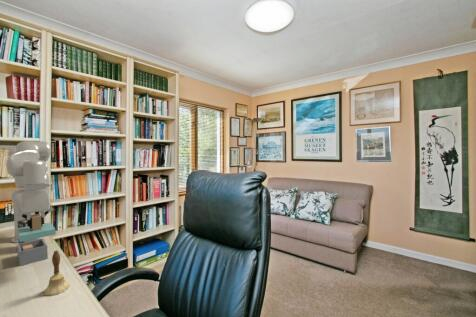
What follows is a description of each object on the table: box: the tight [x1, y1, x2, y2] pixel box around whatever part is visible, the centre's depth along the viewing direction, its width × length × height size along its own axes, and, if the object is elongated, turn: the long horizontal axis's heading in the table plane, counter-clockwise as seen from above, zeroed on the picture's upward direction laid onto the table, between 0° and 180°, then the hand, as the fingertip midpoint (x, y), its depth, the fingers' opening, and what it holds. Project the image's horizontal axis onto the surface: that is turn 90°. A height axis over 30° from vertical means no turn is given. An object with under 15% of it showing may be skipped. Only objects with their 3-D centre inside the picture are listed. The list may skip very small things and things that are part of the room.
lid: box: [17, 213, 56, 242], centre depth 104 cm, size 15×12×8 cm
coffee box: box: [18, 219, 40, 244], centre depth 129 cm, size 9×6×16 cm
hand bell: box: [42, 250, 70, 297], centre depth 91 cm, size 8×8×16 cm
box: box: [16, 237, 49, 267], centre depth 117 cm, size 14×10×7 cm
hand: (36, 226), depth 104 cm, fingers closed on lid, 3 cm apart
